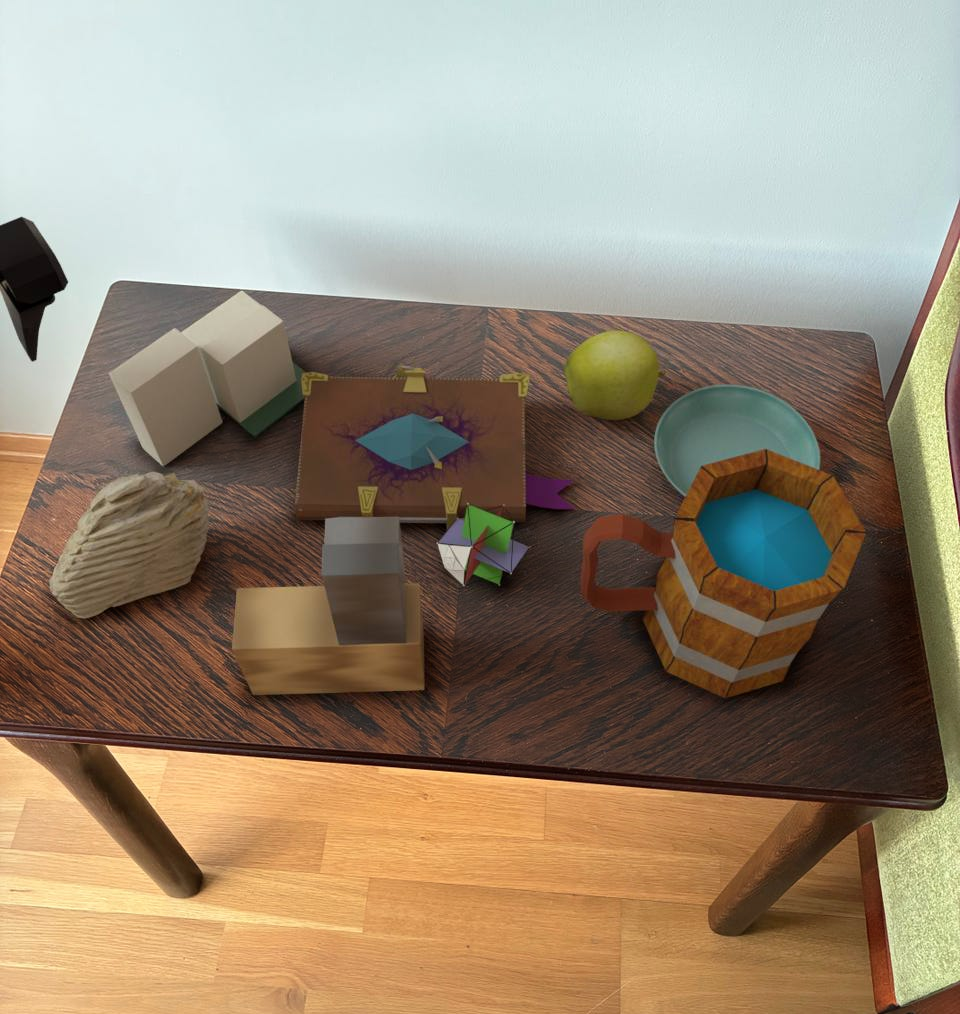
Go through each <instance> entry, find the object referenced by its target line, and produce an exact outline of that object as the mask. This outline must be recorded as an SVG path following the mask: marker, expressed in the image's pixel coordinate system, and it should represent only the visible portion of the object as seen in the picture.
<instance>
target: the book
mask: <svg viewBox="0 0 960 1014" xmlns="http://www.w3.org/2000/svg"><path fill="white" fill-rule="evenodd" d="M426 374H427V373H426V370H423V368H422V367H411V366H408V365H404V364H403V363H402V362H400V364H399V365H398V366H397V370H396V374H395V375H394V376H393V377H385V376H384V377H380V376H379V377H378V376H376V377H375V376H367V377H366V376H329V375H328V374H327V373H320V372H315V371H309V372H306V373H302V378H301V382H302V391H303V397H304V398H305V400H304V401H303V402H304V403H303V413H302V423H301V424H302V425H301V434H300V435H301V437H300V446H299V456H298V465H297V466H298V467H297V477H296V488H295V497H294V498H295V500H294V511H295V517H296V519H297V520H298V521H325V519H326V518H363V517H399V519H400V524H401V523H402V524H410V523H411V524H445V525H446V531H448V530H449V527H450V526H452V525H453V524H454V523H453V522H455V521H456V520H457V519H456V518H457V517H459V516H460V517H463V516H465V515H466V510H467V506H466V505H467V503H469V504H470V505H473V506H475V507H478V508H480V509H483V510H488V509H491V510H488V512H490V513H493V514H495V515H497V513H498V512H499V511H500V509H501V508H502V507H503V506H502V507H499V506H501V505H505V506H504V507H505V508H506V509H505V508H503V513H502V517H503V518H505V519H508V520H510V521H512V520H513V521H515V523H526V518H527V517H526V516H527V505H529V506H534V507H537V508H543V509H550V510H576V508H575V507H574V506H572V505H571V504H570V503H569V502H567V500H565V499H564V498H562V496H560V495H559V494H558V493H559V492H561V491H562V490H564V489H565V488H566V487H567V486H568V485H570V484H571V483H573V482H574V479H567V478H566V479H564V478H563V479H561V478H548V477H541V476H537V475H533V474H529V473H526V471H527V469H526V414H525V413H526V405H527V399H528V392H529V387H530V374H528V373H523V372H513V373H507V374H501V375H499V378H467V377H465V378H463V377H460V378H458V377H456V378H455V377H427V376H426ZM479 504H484V505H479ZM465 507H466V508H465ZM496 507H499V508H496ZM464 508H465V509H464ZM492 508H495V509H492ZM463 509H464V511H463V512H462V510H463ZM506 510H507V511H506ZM460 513H462V514H461V515H459V514H460ZM508 513H509V514H508ZM509 515H510V516H511V517H510V516H509ZM460 517H459V518H460ZM511 518H512V519H511ZM460 519H461V520H464V521H465V517H463V518H460ZM452 523H453V524H452Z"/></svg>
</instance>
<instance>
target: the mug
mask: <svg viewBox="0 0 960 1014" xmlns="http://www.w3.org/2000/svg"><path fill="white" fill-rule="evenodd" d="M866 535H867V531H866V529H865V528H864V526H863V524H862V523H861V521H860V519H859V517H858V516H857V514H856V512H855V510H854V509H853V507H852V505H851V504H850V502H849V500H848V498H847V497H846V495H845V493H844V492H843V490H842V488H841V486H840V485H839V483H838V481H837V480H836V478H835V477H834V475H833V474H830V473H827V472H826V471H823V470H820V469H819V470H818V469H815V468H813V467H810V466H808V465H805V464H803V463H800V462H798V461H795V460H793V459H790V458H788V457H785V456H782V455H780V454H777V453H775V452H772V451H770V450H767V449H763V450H760V451H756V452H752V453H748V454H744V455H741V456H737V457H733V458H729V459H725V460H722V461H718V462H714V463H710V464H707V465H703V466H701V467H700V469H699V471H698V473H697V475H696V477H695V479H694V481H693V483H692V485H691V487H690V489H689V491H688V493H687V495H686V497H684V498H683V500H682V503H681V505H680V506H679V508H678V511H677V513H676V514H675V517H674V519H673V527H672V533H670V532H664V531H663V532H662V531H659V530H657V529H655V528H654V527H652V526H651V525H650V524H649V523H647V522H646V521H644V520H643V519H640V518H638V517H634V516H631V515H628V514H626V513H617V514H611V515H603V516H599V517H597V518H596V519H595V521H594V522H593V523H592V524H591V525H590V527H589V528H588V529H587V530H586V531H585V533H584V535H583V540H582V565H581V570H580V590H581V595H582V596H583V598H584V599H585V600H586V602H587V603H588V605H589V606H590V607H592V608H594V609H597V610H601V611H604V612H609V613H613V612H628V611H631V612H632V611H644V615H643V616H642V618H641V619H642V621H643V623H644V626H645V628H646V630H647V631H648V634H649V637H650V639H651V642H652V644H653V646H654V648H655V650H656V652H657V655H658V657H659V659H660V661H661V663H662V666H663V667H664V670H665V672H666V673H667V674H670V675H672V676H674V677H677V678H679V679H681V680H684V681H685V682H687V683H689V684H693V685H695V686H697V687H698V688H699V687H700V688H701V689H703V690H706V691H708V692H710V693H712V694H714V695H716V696H719V697H720V698H723V699H728V698H732V697H735V696H738V695H741V694H745V693H747V692H748V693H749V692H751V691H754V690H757V689H762V688H763V687H767V686H771V685H774V684H777V683H781V682H784V680H785V679H786V675H787V673H788V671H789V668H790V666H791V663H792V662H793V660H794V659H795V658H796V656H797V654H798V653H799V652H800V650H802V648H804V647H805V645H807V643H808V642H809V641H810V640H811V638H812V636H813V634H814V631H815V629H816V626H817V624H818V622H819V621H820V619H821V616H823V613H824V612H825V610H826V609H827V608H828V606H829V605H830V603H831V602H832V601H833V600H834V599H835V598H836V597H837V596H838V595H839V594H840V593H842V591H844V589H845V587H846V585H847V582H848V580H849V577H850V574H851V572H852V569H853V567H854V565H855V562H856V560H857V557H858V554H859V552H860V550H861V547H862V545H863V543H864V540H865V538H866ZM618 539H621V540H625V541H629V542H632V543H635V544H637V545H638V546H640V548H642V549H643V550H645V551H646V552H648V553H649V554H651V555H654V556H656V557H661V558H664V559H663V560H662V562H661V565H660V567H659V569H658V570H657V573H656V581H655V587H653V586H651V587H622V588H621V587H619V588H607V587H604V586H600V585H598V584H597V583H596V582H595V581H596V574H597V569H598V565H599V556H598V555H599V554H598V548H599V546H600V544H601V543H602V542H605V541H612V540H618Z"/></svg>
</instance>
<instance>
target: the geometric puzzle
mask: <svg viewBox="0 0 960 1014" xmlns="http://www.w3.org/2000/svg"><path fill="white" fill-rule="evenodd" d="M479 505H484V504H479ZM466 506H467V510H466V515H465V516H463V517H465V521H464V520H461V519H460V518H463V517H460V516H459V517H460V518H459V517H457V518H456V519H457V520H456V521H455V522H453V523H454V524H453V523H452V524H453V525H452V526H450V527H449V530H448V531H447V530H446V531H445V533H444V534H443V535H442V536H441V538H439V540H438V541H437V542H436V545H437V548H438V551H439V554H440V557H441V561H442V564H443V567H444V569H445V570H446V571H447V572H448V573H449V574H450V575H451V576H452V577H453V578H455V579H456V580H457V581H458V582H459V583H460V584H461V585H462V586H463V587H465V586H467V587H470V586H474V584H476V583H480V582H483V581H489V582H490V583H491V582H492V583H493V584H495V585H497V586H501V584H502V583H503V582H504V581H505V580H506V579H507V578H508V577H509V575H512V574H513V572H514V570H515V569H516V568H517V566H518V565H519V563H520V562H521V560H522V559H523V557H524V556H525V555H526V553H527V552H528V550H529V549H531V546H530V545H529V544H528V542H527V541H526V539H525V537H524V536H523V534H522V532H521V531H520V530H519V527H518V526H517V524H516V522H515V521H513V520H512V521H510V520H508V519H505V518H503V517H502V513H503V508H505V507H504V506H505V505H501V506H499V507H502V506H503V507H502V508H501V509H500V511H499V512H498V513H497V515H495V514H493V513H490V512H488V510H491V509H488V510H483V509H480V508H478V507H475V506H473V505H470V504H469V503H467V505H466ZM499 507H496V508H499ZM465 508H466V507H465ZM465 508H464V509H465ZM464 509H463V510H462V512H463V511H464ZM492 509H495V508H492ZM505 509H506V508H505ZM506 511H507V510H506ZM461 514H462V513H460V514H459V515H461ZM508 514H509V513H508ZM509 516H510V515H509ZM510 517H511V516H510ZM511 519H512V518H511ZM515 527H516V528H517V531H518V532H519V533H520V535H521V536H522V538H523V540H524V542H525V543H526V544H524V543H521V542H519V541H516V540H514V534H515V533H514V531H515ZM511 537H512V539H511ZM503 571H504V572H507V574H503ZM473 575H474V576H477V577H480V578H482V579H483V580H481V581H480V580H479V581H476V582H471V583H468V584H467V582H468V581H469V579H471V577H472V576H473ZM503 576H504V577H503ZM502 577H503V578H502ZM501 579H502V580H501Z"/></svg>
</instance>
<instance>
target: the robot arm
mask: <svg viewBox="0 0 960 1014" xmlns="http://www.w3.org/2000/svg"><path fill="white" fill-rule="evenodd" d="M68 283H69V280H68V278H67V276H66V274H65V272H64V269H63V267H62V264H61V263H60V261H59V259H58V258H57V255H56V254H55V253H54V251H53V250H52V248H51V246H50V245H49V243H48V242H47V241H46V239H45V237H44V236H43V234H42V233H41V232H40V230H39V228H38V227H37V225H36V224H35V223H34V221H32V220H31V219H29V218H26V217H24V216H20V217H17V218H14V219H12V220H10V221H7V222H5V223H2V224H0V294H1V296H2V298H3V302H4V303H5V306H6V309H7V312H8V314H9V318H10V320H11V322H12V326H13V328H14V330H15V333H16V336H17V338H18V341H19V342H20V344H21V346H22V348H23V349H24V352H25V353H26V355H27V357H28V358H29V360H30V362H33V363H34V362H36V361H37V360H38V345H39V335H40V327H41V324H42V321H43V318H44V313H45V310H46V308H47V307H48V306H50V305H53V303H55V301H56V296H55V294H57V293H61V292H63V291H65V289H67V285H68Z"/></svg>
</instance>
